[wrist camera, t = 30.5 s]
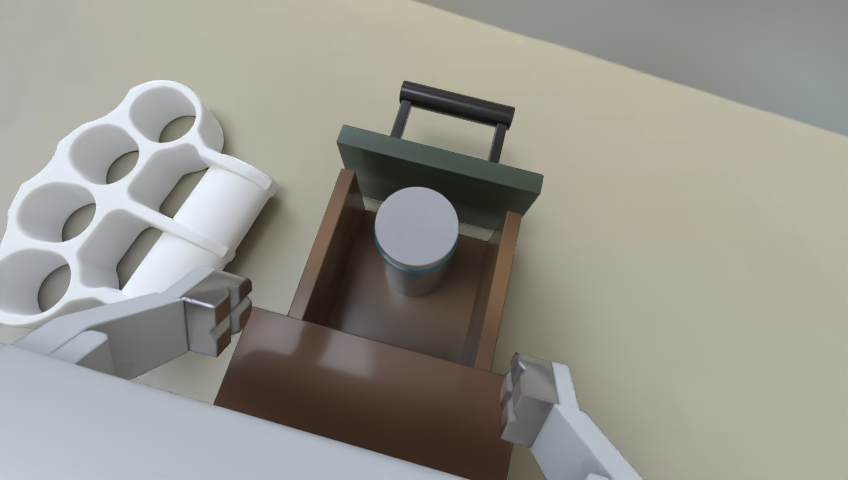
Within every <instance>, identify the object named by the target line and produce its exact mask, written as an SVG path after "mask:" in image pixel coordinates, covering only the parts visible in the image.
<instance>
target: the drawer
mask: <svg viewBox="0 0 848 480" xmlns="http://www.w3.org/2000/svg"><path fill="white" fill-rule="evenodd" d="M399 101H400V104H401V105H400V108H399V111H398V114H397V117H396V120H395V123H394V126H393V129H392V132H391V135H390V136H387V135H383V134H379V133H375V132H371V131H367V130H363V129H359V128H355V127H351V126H347V125H343V126H342V129H341V132H340V134H339V137H338V139H337V145H338V148H339V151H340V154H341V157H342V160H343V163H344V167H345V169H341V171H340V174H339V177H338V179H337V182H336V185H335V187H334V190H333V193H332V196H331V198H330V201H329V204H328V206H327V209H326V212H325V215H324V217H323V220H322V223H321V225H320V228H319V231H318V234H317V236H316V239H315V242H314V244H313V247H312V250H311V253H310V255H309V258H308V261H307V263H306V266H305V269H304V272H303V274H302V277H301V280H300V282H299V285H298V288H297V291H296V293H295V296H294V299H293V301H292V304H291V307H290V310H289V312H288V315H287V316H289V317H293V318H297V319H300V320H304V321H307V322H311V323H315V324H318V325H322V326H326V327H329V328H333V329H336V330H340V331H344V332H347V333H351V334H355V335H358V336H362V337H365V338H369V339H373V340H376V341H380V342H383V343H387V344H391V345H394V346H398V347H402V348H405V349H409V350H412V351H416V352H420V353H423V354H427V355H431V356H434V357H438V358H441V359H445V360H449V361H452V362H456V363H459V364H463V365H467V366H470V367H474V368H478V369H481V370H485V371H488V372H490V371H491V366H492V361H493V356H494V351H495V346H496V341H497V336H498V331H499V326H500V321H501V316H502V311H503V307H504V302H505V297H506V292H507V287H508V282H509V277H510V272H511V267H512V262H513V257H514V252H515V247H516V242H517V237H518V232H519V227H520V222H521V218H522V217H523V216H524V214H525V213H526V212H527V210H528V209H529V208H530V206H531V205H532V204H533V203H534V201H535V200H536V199H537V197H538V196H539V195H540V193H541V188H542V182H543V177H544V176H543V175H542V174H538V173H534V172H530V171H526V170H522V169H518V168H514V167H510V166H506V165H502V164H498V163H499V159H500V154H501V150H502V146H503V141H504V137H505V133H506V130H509V128H510V126H511V123H512V119H513V116H514V112H515V108H514V107H511V106H507V105H503V104H499V103H494V102H490V101H486V100H482V99H478V98H474V97H470V96H466V95H462V94H458V93H454V92H450V91H446V90H442V89H437V88H433V87H429V86H425V85H421V84H417V83H413V82H409V81H404V82H403V84H402V87H401V91H400V98H399ZM411 107H415V108H419V109H423V110H427V111H431V112H435V113H439V114H443V115H447V116H451V117H455V118H459V119H463V120H467V121H471V122H476V123H480V124H484V125H488V126H492V127H496V129H495V133H494V138H493V142H492V146H491V150H490V154H489V158H488V161H486V160H482V159H478V158H474V157H470V156H466V155H462V154H458V153H454V152H450V151H446V150H442V149H438V148H435V147H431V146H427V145H423V144H419V143H415V142H411V141H407V140H403V139H401V138H402V135H403V132H404V129H405V126H406V123H407V119H408V116H409V113H410V110H411ZM410 187H424V188H428V189H431V190H434V191H436V192H438V193H440V194H441V195H443V196H444V197H445V198H446V199H447V200H448V201H449V202H450V203H451V205H452V206H453V208H454V209H455V211H456V214H457V217H458V221H461V222H465V223H469V224H473V225H477V226H481V227H485V228H488V229H492V230H495V231H494V233H493V234H492V236H491V238H490V239H489V241H488V242H487V241H483V240H479V239H476V238H472V237H468V236H464V235H460V234H458V242H457V245H456V248H455V251H454V253H453V256H452V258H451V261H450V263H449V266H448V268H447V271H446V273H445V276H444V278H443V280H442V282H441V284H440V285H439V286H438V288H437V289H436V290H434V291H433V292H432V293H430V294H428V295H426V296H422V297H407V296H404V295H401V294H399V293H398V292H396V291H395V290H394V289H393V288H392V287H391V286H390V285H389V284H388V282H387V280H386V278H385V275H384V271H383V267H382V264H381V260H380V256H379V253H378V249H377V245H376V242H375V220H376V216H377V213H376V212H372V211H369V210H366V209H365V206H364V202H363V198H362V196H365V197H369V198H373V199H377V200H381V201H385V200H386V199H387V198H388V197H389V196H391V195H392V194H394V193H395V192H397V191H399V190H402V189H405V188H410Z"/></svg>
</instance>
